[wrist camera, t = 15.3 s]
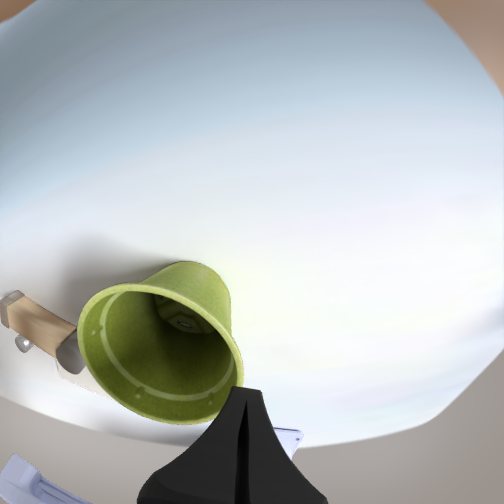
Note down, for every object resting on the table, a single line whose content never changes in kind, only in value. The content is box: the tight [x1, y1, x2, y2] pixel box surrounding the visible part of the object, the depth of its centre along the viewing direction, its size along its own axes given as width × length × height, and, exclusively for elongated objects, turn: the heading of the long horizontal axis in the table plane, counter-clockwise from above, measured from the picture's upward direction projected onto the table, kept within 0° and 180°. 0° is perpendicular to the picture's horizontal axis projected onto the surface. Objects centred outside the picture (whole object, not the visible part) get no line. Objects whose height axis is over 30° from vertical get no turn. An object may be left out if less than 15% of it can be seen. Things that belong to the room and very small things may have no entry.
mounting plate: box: [56, 359, 116, 401], centre depth 24 cm, size 4×8×1 cm, turn 78°
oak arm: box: [0, 290, 86, 375], centre depth 22 cm, size 12×3×4 cm, turn 70°
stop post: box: [15, 335, 34, 353], centre depth 22 cm, size 2×2×4 cm
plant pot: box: [77, 262, 244, 425], centre depth 18 cm, size 9×9×9 cm
